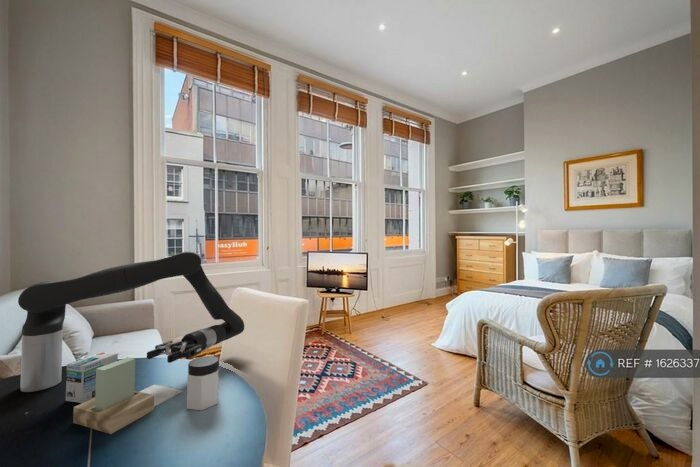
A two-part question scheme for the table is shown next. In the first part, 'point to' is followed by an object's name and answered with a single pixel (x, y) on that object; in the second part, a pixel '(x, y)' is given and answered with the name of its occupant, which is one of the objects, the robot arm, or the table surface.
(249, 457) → the table surface
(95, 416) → the grooved wooden block
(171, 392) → the mat
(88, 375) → the light bulb box
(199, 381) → the jar
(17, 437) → the table surface
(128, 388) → the grey-green angular block
